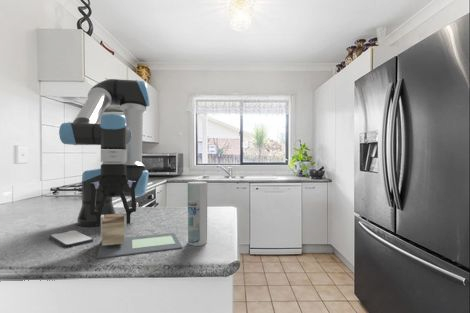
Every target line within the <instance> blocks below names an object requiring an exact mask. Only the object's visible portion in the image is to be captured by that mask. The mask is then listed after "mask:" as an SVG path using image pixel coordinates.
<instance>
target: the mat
mask: <svg viewBox="0 0 470 313" xmlns="http://www.w3.org/2000/svg"><path fill="white" fill-rule="evenodd" d="M180 249H183V246H182V244H181V242H180V241H179V239H178V237H177V236H176V234H175V232H168V233H158V234H157V233H156V234H148V235H147V234H146V235H139V236H138V235H137V236H128V237H124V243H123V244H114V245H104V246H102V240H101V242H100V244H99V247H98V251H97V255H96V260H98V259H99V260H100V259H105V258H106V259H107V258H108V259H109V258H114V257H123V256H131V255H139V254H146V253H154V252H155V253H156V252H164V251H173V250H180Z"/></svg>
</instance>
